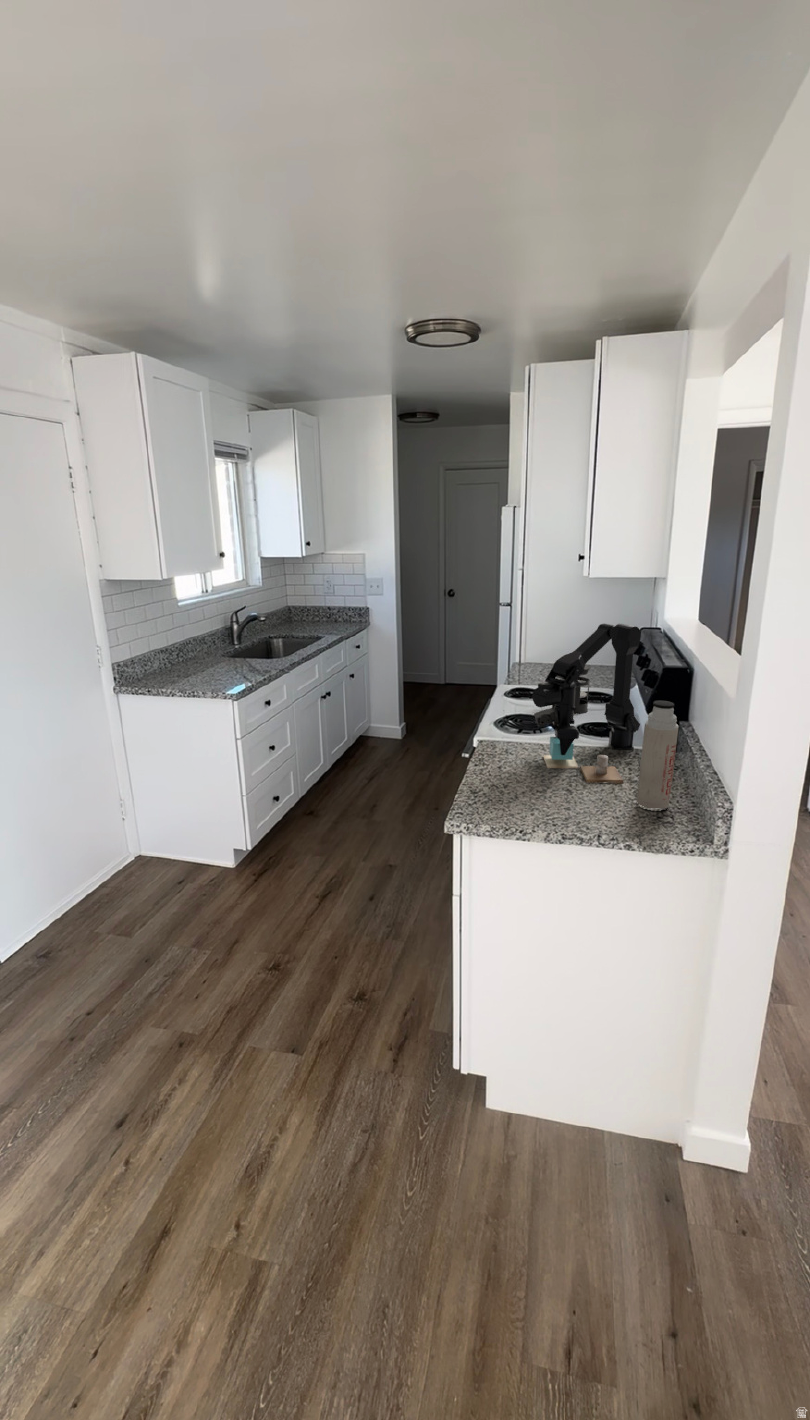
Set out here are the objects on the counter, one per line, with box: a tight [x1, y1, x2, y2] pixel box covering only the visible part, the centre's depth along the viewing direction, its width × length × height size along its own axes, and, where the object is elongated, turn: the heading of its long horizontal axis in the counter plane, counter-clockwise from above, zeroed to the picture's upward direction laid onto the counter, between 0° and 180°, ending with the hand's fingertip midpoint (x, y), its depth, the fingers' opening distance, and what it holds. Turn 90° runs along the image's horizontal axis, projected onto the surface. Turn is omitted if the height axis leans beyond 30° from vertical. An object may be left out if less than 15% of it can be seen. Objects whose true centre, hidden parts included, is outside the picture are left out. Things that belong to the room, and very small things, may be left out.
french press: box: [559, 664, 591, 715], centre depth 250 cm, size 12×9×23 cm
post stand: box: [579, 754, 624, 784], centre depth 192 cm, size 10×10×6 cm
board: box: [542, 754, 579, 769], centre depth 203 cm, size 9×9×1 cm
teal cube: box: [548, 736, 575, 760], centre depth 202 cm, size 6×6×5 cm
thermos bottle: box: [636, 700, 680, 808], centre depth 170 cm, size 8×8×28 cm
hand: (561, 751), depth 202 cm, fingers closed on teal cube, 6 cm apart
